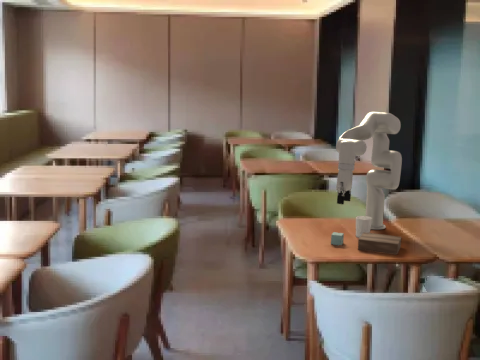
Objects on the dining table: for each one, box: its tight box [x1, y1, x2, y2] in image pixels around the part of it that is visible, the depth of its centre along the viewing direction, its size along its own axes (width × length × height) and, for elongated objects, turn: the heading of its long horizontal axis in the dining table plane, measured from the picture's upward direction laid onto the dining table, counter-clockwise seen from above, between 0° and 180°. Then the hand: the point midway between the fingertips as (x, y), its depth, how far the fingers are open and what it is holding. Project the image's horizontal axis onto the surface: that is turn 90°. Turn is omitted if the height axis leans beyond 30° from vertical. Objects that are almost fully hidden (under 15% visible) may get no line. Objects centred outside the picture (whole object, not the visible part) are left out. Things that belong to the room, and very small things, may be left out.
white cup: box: [355, 215, 372, 239], centre depth 293 cm, size 8×8×10 cm
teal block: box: [330, 231, 345, 246], centre depth 280 cm, size 5×5×5 cm
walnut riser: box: [357, 232, 402, 256], centre depth 274 cm, size 14×18×5 cm
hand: (343, 202), depth 275 cm, fingers open, 9 cm apart
